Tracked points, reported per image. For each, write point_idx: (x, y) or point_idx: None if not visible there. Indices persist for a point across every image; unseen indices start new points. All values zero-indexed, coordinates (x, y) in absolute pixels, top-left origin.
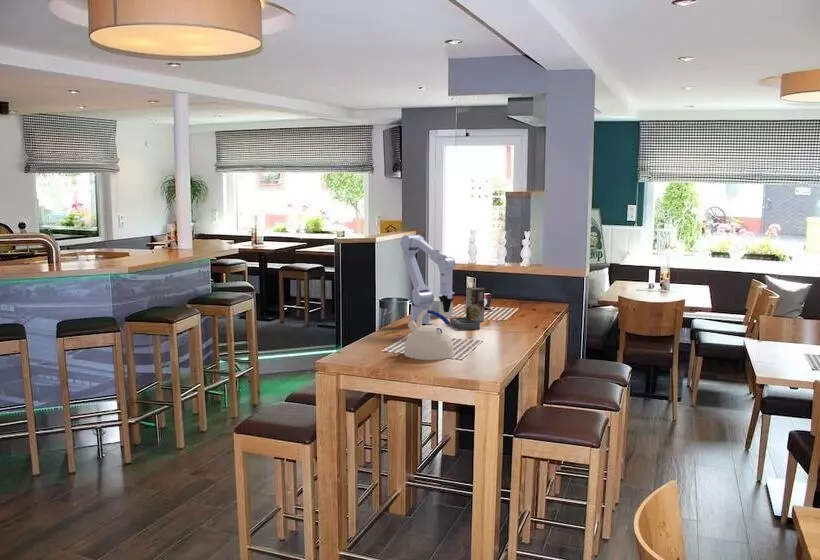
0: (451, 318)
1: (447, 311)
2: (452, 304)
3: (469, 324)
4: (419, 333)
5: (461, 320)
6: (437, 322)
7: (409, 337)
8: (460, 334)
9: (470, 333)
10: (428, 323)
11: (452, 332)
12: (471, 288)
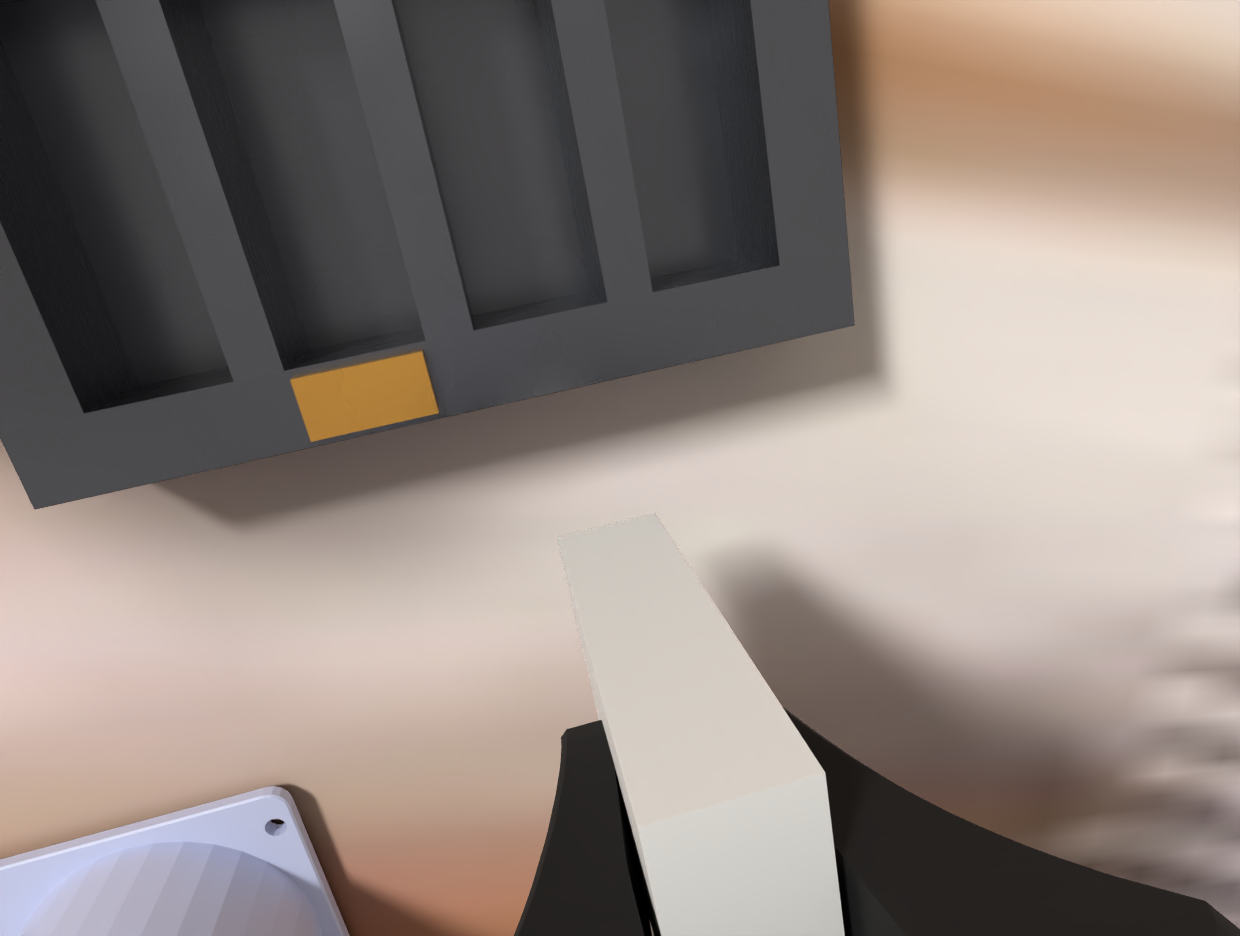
0: (168, 477)
1: None
2: (781, 717)
3: (822, 65)
4: None
5: (438, 231)
6: (5, 707)
7: None
8: (1151, 319)
9: (1112, 120)
10: (297, 855)
11: (981, 444)
12: None
